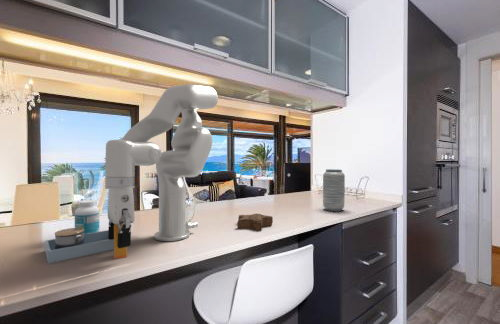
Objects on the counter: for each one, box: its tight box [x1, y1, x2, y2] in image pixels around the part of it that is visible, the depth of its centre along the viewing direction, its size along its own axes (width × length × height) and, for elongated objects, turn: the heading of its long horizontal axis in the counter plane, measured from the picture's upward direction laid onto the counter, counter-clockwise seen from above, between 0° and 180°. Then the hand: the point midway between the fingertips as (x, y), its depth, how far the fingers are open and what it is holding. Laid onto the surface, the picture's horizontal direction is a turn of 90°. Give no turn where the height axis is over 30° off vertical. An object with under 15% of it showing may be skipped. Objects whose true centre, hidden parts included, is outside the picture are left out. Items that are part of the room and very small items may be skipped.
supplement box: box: [113, 224, 128, 260], centre depth 73 cm, size 3×3×10 cm
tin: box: [54, 227, 84, 249], centre depth 75 cm, size 7×7×6 cm
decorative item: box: [236, 213, 274, 231], centre depth 108 cm, size 16×6×15 cm
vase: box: [322, 168, 346, 212], centre depth 143 cm, size 12×12×23 cm
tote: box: [44, 229, 114, 264], centre depth 78 cm, size 18×12×4 cm, turn 132°
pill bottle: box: [74, 199, 100, 234], centre depth 89 cm, size 8×7×14 cm
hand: (119, 242), depth 72 cm, fingers open, 9 cm apart
